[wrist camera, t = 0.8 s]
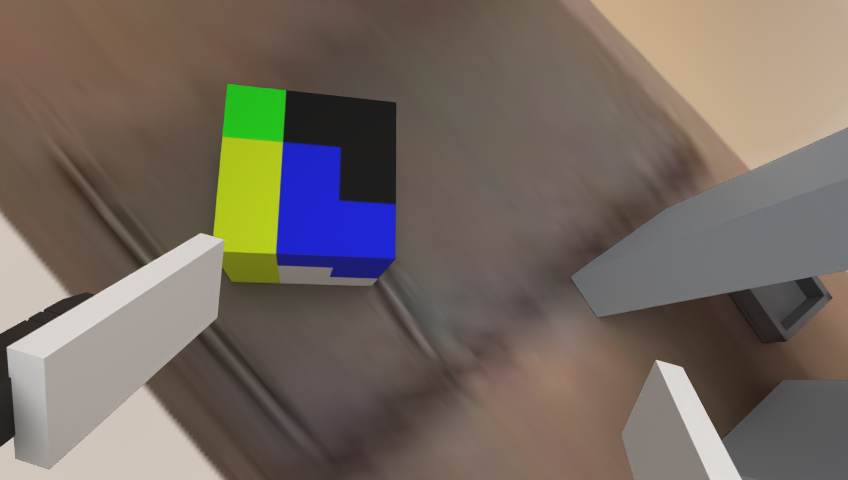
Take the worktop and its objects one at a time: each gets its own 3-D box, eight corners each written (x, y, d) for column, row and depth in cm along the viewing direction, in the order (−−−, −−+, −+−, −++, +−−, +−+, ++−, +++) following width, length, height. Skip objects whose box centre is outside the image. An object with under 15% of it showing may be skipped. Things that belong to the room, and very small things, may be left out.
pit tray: (763, 342, 47) (786, 341, 45) (717, 276, 48) (737, 271, 46) (808, 301, 49) (832, 297, 47) (764, 237, 50) (785, 231, 48)
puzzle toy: (371, 286, 40) (395, 258, 31) (231, 281, 38) (211, 250, 29) (373, 162, 43) (396, 102, 33) (242, 151, 40) (227, 83, 31)
